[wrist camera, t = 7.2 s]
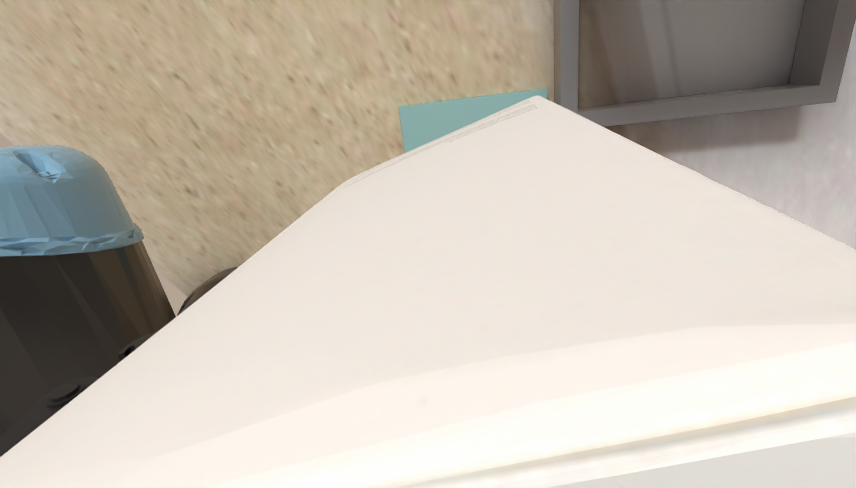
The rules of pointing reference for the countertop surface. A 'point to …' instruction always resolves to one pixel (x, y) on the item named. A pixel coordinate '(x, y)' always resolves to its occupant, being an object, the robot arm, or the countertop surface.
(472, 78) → the countertop surface
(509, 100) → the mat
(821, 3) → the case
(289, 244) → the supplement box
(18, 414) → the robot arm
